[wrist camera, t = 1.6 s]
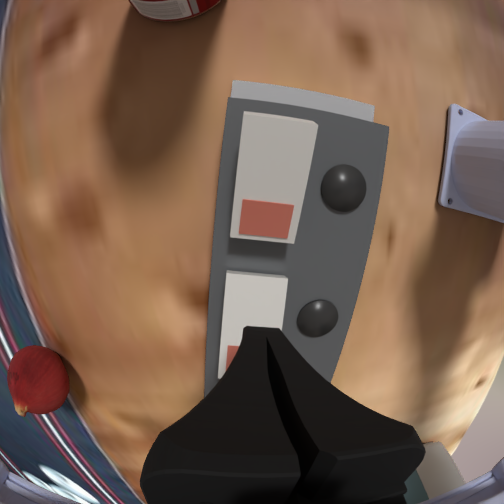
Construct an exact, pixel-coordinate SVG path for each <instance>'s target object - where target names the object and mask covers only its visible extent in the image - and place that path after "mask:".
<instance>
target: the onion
mask: <svg viewBox="0 0 504 504" xmlns="http://www.w3.org/2000/svg"><path fill="white" fill-rule="evenodd" d="M7 380H8V386H9V390H10V393H11V395H12V398H13V402H14V405H15V409H16V411H17V412H18V414H19V415H21V416H24V417H25V416H26V413H27V412H30V413H34V414H47V413H49V412H52V411H55V410H57V409H58V408H60V407H61V406H62V404H63V403H64V402H65V400H66V397H67V395H68V393H69V377H68V374H67V371H66V369H65V367H64V365H63V363H62V361H61V358H60V356H59V355H58V354H57V353H56V352H54V351H52V350H50V349H49V348H47V347H42V346H36V345H33V346H28V347H25V348H23V349H21V350H19V351H18V352H17V353H15V355H14V356H13V358H12V360H11V363H10V366H9V370H8V376H7Z"/></svg>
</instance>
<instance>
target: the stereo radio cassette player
mask: <svg viewBox="0 0 504 504" xmlns="http://www.w3.org/2000/svg"><path fill="white" fill-rule="evenodd" d="M423 445H424V447H425V451H426V453H425V456H424V459H423V461H422V462H421V464H420V465H419V466H418V467H417V469H416V470H415V471H414V472H413V473H412V474H411V475H410V476H409V477H408V479H407V480H406V481H405V482H404V483H405V485H406V487H407V492H406V493H405V494H403V495H404V497H405V500H406V502H407V504H418V503H421V502H424V501H426V500H429V499H431V498H434V497H437V496H439V495H441V494H444V493H446V492H449V491H451V490H453V489H455V488H458V487H460V486H462V485H464V484H466V483H465V481H464V479H463V477H462V475H461V473H460V471H459V469H458V468H457V466H456V464H455V462H454V461H453V459H452V457H451V456H450V454H449V453H448V451H447V450H446V448H445V447H444V446H443V444H442V443H441V442H428V443H425V444H423Z"/></svg>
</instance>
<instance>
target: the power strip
mask: <svg viewBox="0 0 504 504" xmlns="http://www.w3.org/2000/svg"><path fill="white" fill-rule="evenodd" d="M374 108H375V106H373V105H369V104H366V103H362V102H358V101H354V100H350V99H346V98H342V97H338V96H333V95H329V94H324V93H319V92H314V91H309V90H304V89H298V88H292V87H286V86H279V85H272V84H265V83H257V82H248V81H238V80H233V84H232V91H231V97H228V103H227V110H226V118H225V127H224V135H223V144H222V153H221V162H220V171H219V181H218V191H217V201H216V212H215V223H214V235H213V247H212V260H211V274H210V289H209V304H208V322H207V341H206V363H205V391H204V398H205V397H206V396H207V395H208V393H209V392H210V391H211V390H212V389H213V388H214V387H215V385H216V384H217V383H218V382H219V380H220V378H218V368H219V355H220V343H221V330H222V318H223V307H224V295H225V284H226V273H227V270H230V271H240V272H251V273H262V274H273V275H284V276H285V277H287V278H288V284H287V293H286V301H285V309H284V317H283V325H282V332H283V333H284V335H285V336H286V337H287V339H288V340H289V341H290V342H291V344H292V345H293V346H294V347H295V349H296V350H297V351H298V352H299V353H300V354H301V356H302V357H303V358H304V359H305V360H306V361H307V362H308V363H309V364H310V365H311V366H312V367H313V368H314V369H315V370H316V371H317V372H318V373H319V374H320V375H321V376H322V377H323V378H325V379H326V380H327V381H328V382H329V383H331V380H332V377H333V374H334V371H335V368H336V366H337V363H338V360H339V357H340V354H341V351H342V347H343V344H344V341H345V338H346V335H347V332H348V328H349V325H350V322H351V318H352V315H353V311H354V308H355V304H356V301H357V297H358V293H359V289H360V286H361V282H362V278H363V274H364V270H365V266H366V261H367V257H368V253H369V248H370V244H371V239H372V234H373V230H374V225H375V220H376V214H377V209H378V204H379V198H380V192H381V186H382V180H383V173H384V166H385V159H386V152H387V144H388V135H389V127H388V126H385V125H381V124H377V123H374V122H373V118H374ZM244 111H248V112H257V113H265V114H272V115H280V116H286V117H293V118H299V119H305V120H310V121H314V122H315V123H316V124H318V130H317V135H316V141H315V146H314V151H313V156H312V161H311V166H310V171H309V176H308V181H307V186H306V191H305V196H304V200H303V205H302V210H301V214H300V219H299V223H298V228H297V233H296V237H295V241H294V244H291V243H281V242H272V241H262V240H252V239H242V238H232V237H230V232H231V222H232V212H233V202H234V193H235V183H236V174H237V165H238V156H239V147H240V139H241V130H242V122H243V114H244Z"/></svg>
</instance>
